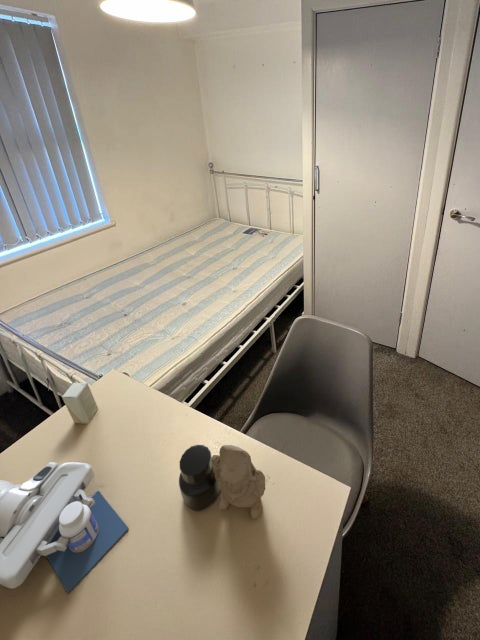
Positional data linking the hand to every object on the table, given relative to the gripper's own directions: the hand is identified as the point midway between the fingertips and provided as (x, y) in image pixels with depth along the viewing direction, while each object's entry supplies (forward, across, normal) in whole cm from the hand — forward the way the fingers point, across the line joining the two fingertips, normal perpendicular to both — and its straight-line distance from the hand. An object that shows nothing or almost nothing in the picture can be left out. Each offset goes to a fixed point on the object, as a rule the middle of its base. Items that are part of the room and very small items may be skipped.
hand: (80, 523), depth 66 cm
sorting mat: (-1, 0, +6) cm, 6 cm away
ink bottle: (+20, +12, +6) cm, 25 cm away
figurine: (+31, +11, +6) cm, 33 cm away
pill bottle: (-1, 0, +6) cm, 6 cm away
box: (-22, +26, +6) cm, 34 cm away
